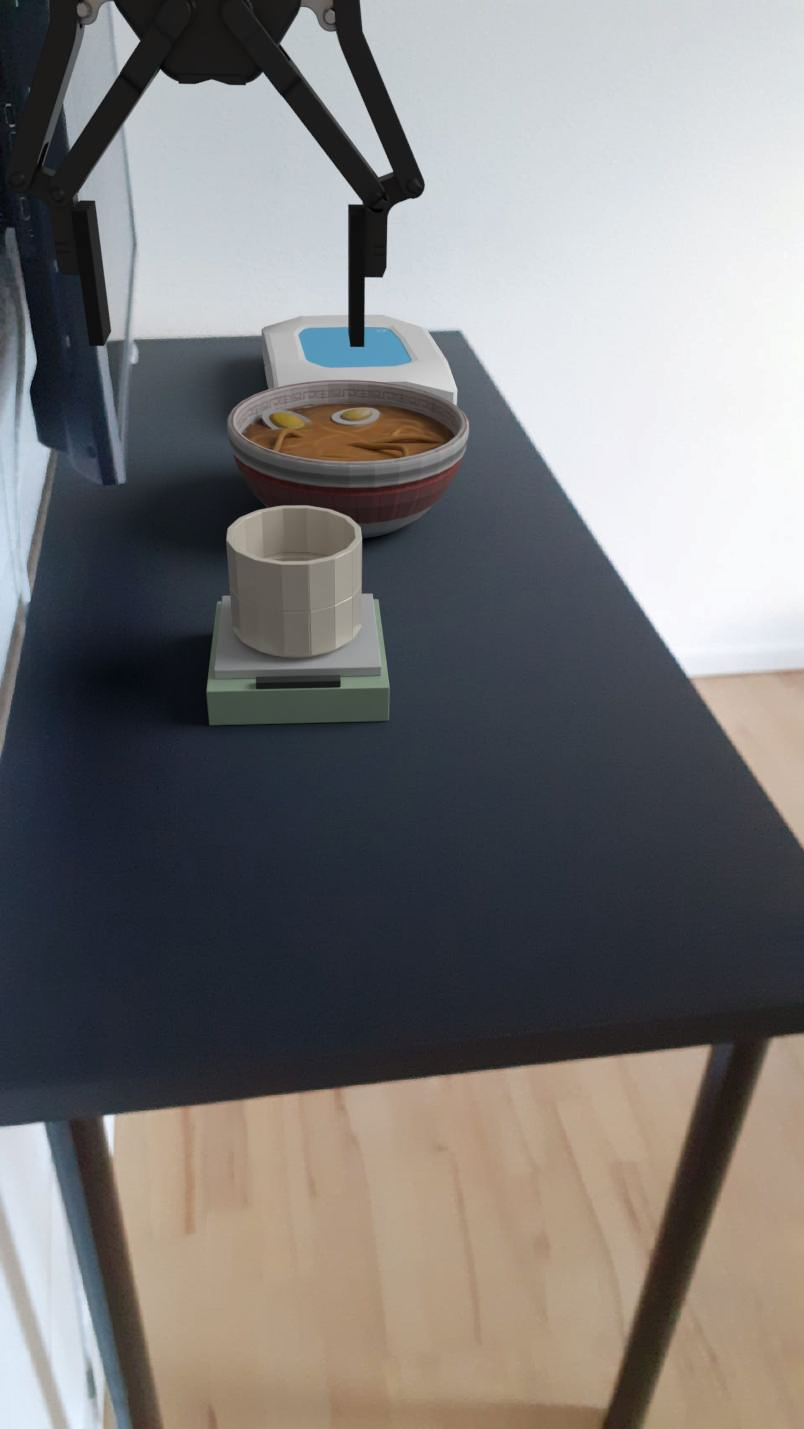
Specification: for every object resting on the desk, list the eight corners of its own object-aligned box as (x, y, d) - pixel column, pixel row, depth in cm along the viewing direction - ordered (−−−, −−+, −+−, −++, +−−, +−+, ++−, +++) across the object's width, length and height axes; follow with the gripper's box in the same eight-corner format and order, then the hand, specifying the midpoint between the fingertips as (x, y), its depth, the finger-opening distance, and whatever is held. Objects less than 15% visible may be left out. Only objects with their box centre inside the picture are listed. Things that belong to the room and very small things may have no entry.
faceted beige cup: (230, 664, 78) (223, 565, 73) (236, 599, 86) (229, 505, 81) (364, 662, 78) (364, 563, 74) (357, 597, 86) (358, 504, 82)
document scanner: (277, 437, 124) (275, 383, 121) (262, 362, 147) (260, 315, 143) (456, 431, 128) (459, 378, 124) (414, 358, 150) (416, 312, 147)
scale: (209, 725, 78) (205, 682, 76) (219, 633, 89) (216, 592, 86) (388, 721, 79) (390, 677, 77) (377, 630, 90) (378, 589, 87)
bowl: (265, 462, 118) (261, 371, 113) (473, 480, 116) (480, 388, 110) (203, 555, 100) (194, 451, 94) (449, 579, 97) (455, 474, 92)
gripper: (476, -151, 50) (451, 321, 62) (-81, -174, 48) (6, 318, 60) (501, -165, 44) (468, 361, 56) (-136, -193, 42) (-26, 360, 54)
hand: (229, 340), depth 58 cm, fingers open, 13 cm apart
